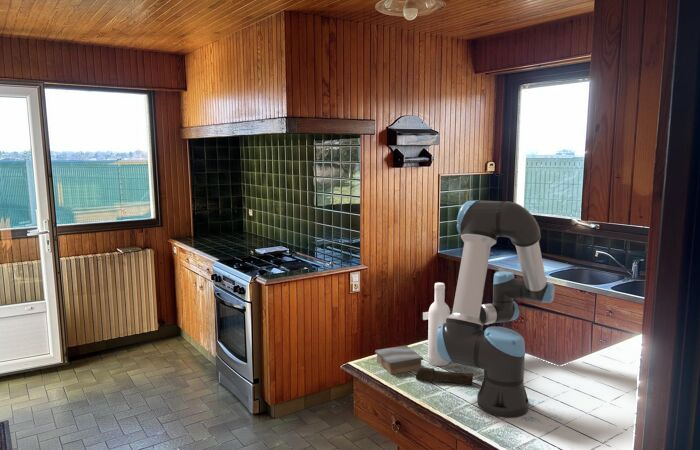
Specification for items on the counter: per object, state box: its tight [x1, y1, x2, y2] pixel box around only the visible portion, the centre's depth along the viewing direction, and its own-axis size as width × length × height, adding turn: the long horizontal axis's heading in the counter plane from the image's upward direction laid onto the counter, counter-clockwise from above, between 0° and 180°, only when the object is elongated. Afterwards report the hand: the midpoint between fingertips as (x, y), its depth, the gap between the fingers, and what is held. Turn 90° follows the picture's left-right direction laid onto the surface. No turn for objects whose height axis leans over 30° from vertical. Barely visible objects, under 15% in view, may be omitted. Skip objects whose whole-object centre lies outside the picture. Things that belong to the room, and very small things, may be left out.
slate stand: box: [374, 345, 424, 375], centre depth 185 cm, size 13×13×4 cm
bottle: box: [427, 282, 450, 367], centre depth 186 cm, size 8×8×30 cm
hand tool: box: [415, 367, 474, 386], centre depth 172 cm, size 19×4×5 cm, turn 77°
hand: (432, 321), depth 185 cm, fingers open, 13 cm apart
